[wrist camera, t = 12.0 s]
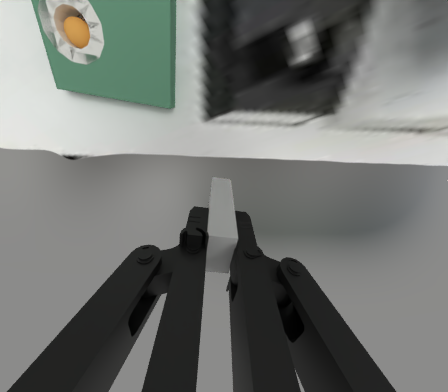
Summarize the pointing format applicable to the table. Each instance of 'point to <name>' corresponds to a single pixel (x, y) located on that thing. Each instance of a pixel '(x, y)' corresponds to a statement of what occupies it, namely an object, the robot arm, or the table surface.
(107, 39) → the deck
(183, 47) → the table surface
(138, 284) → the robot arm
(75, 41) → the ball
